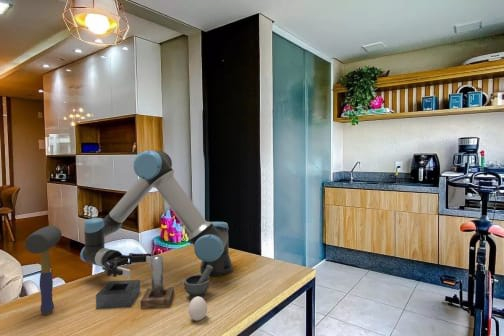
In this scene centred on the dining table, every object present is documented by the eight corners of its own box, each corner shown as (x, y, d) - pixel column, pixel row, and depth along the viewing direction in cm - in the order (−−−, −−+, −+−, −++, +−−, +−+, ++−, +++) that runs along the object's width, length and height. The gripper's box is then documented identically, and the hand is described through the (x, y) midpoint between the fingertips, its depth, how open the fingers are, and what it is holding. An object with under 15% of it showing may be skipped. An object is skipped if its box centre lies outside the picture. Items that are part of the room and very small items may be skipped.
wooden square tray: (174, 294, 117) (173, 287, 117) (169, 307, 107) (169, 299, 107) (147, 296, 116) (147, 288, 116) (140, 309, 106) (140, 300, 106)
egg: (207, 313, 102) (206, 292, 102) (207, 323, 96) (206, 300, 96) (189, 315, 102) (189, 293, 101) (188, 325, 96) (187, 302, 95)
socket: (140, 291, 120) (139, 279, 119) (130, 307, 108) (130, 293, 107) (109, 293, 119) (108, 281, 118) (96, 308, 107) (95, 295, 106)
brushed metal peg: (164, 296, 114) (163, 254, 113) (162, 301, 110) (161, 258, 109) (153, 296, 113) (152, 255, 113) (151, 301, 109) (150, 258, 109)
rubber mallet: (51, 321, 99) (48, 232, 98) (26, 324, 97) (22, 233, 96) (66, 303, 111) (63, 223, 110) (43, 305, 109) (40, 224, 108)
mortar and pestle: (185, 305, 109) (184, 272, 108) (183, 293, 118) (182, 263, 117) (215, 300, 112) (215, 268, 112) (211, 289, 121) (210, 260, 121)
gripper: (134, 258, 136) (168, 266, 125) (80, 278, 114) (116, 290, 104) (133, 242, 135) (168, 248, 125) (79, 259, 114) (115, 269, 103)
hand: (144, 267), depth 114 cm, fingers open, 13 cm apart
